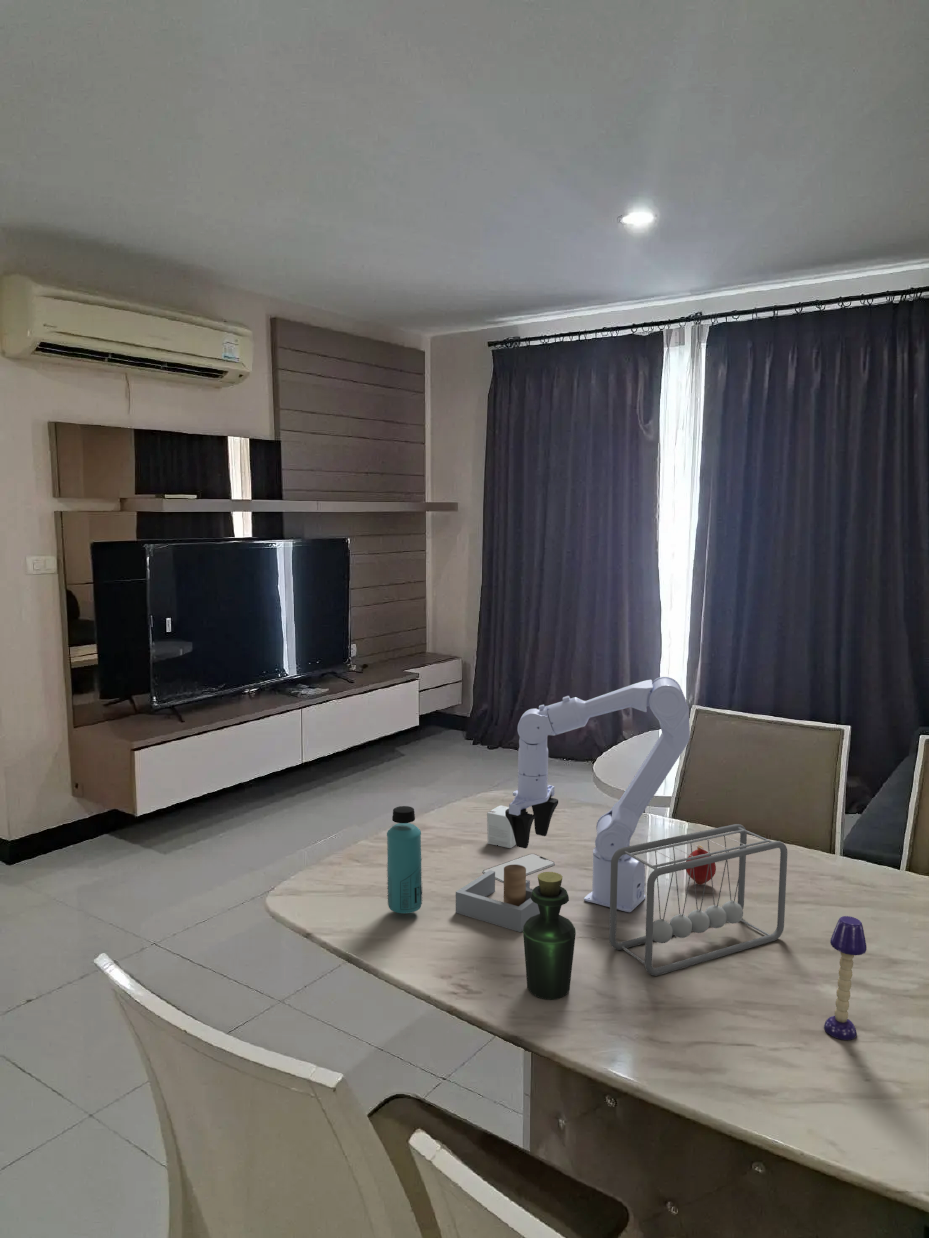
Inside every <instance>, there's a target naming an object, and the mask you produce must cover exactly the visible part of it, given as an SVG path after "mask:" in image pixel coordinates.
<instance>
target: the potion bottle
mask: <svg viewBox="0 0 929 1238" xmlns="http://www.w3.org/2000/svg"><path fill="white" fill-rule="evenodd" d="M537 880H538V881H537V882H538V885H537V886H535V887H533V888H532V889H533V891H532V894H531V900H532V901H533V902H534V903H536V904H538V908H539V912H540V914H538V915H535V916H533V917H530V918H529V919H528V920H527V921H526V923H525V925H524V926H523V931H522V936H523V938H522V939H523V947H524V948H523V949H524V959H525V960H524V961H525V974H526V986H527V989H528V991H529V993H531V995H533V996H535V997H537V998H540V999H543V1000H557V999H560V998H563V997H565V996H566V995H567V994H568V993H569V991H570V989H571V979H572V973H573V972H572V970H573V961H574V952H575V942H576V927H575V926H574V924H573V922H572V921H571V920H570V919H569V918H567V917H565V916H563V915H561V914H560V913H561V909H562V906H564V905H566V904H567V903H569V901H570V900H569V899H570V896H569V894H568V891H567V889H566V888H564V887H562V882H563V876H562V874H561V873H559V872H555V871H542V872H540V873H539V874H537Z"/></svg>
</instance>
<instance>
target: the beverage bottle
mask: <svg viewBox="0 0 929 1238" xmlns="http://www.w3.org/2000/svg"><path fill="white" fill-rule="evenodd" d="M415 815H416V814H415V809H414V807H412V806H409V805H401V806H400V805H399V806H396V807H394V808H393V810H392V815H391V816H392V817H391V819H392V821H393V822H394V823H395V824H393V825H392V826H391V827H390V828H389V829H388V830H387V832H386V840H387V841H386V843H387V848H386V850H387V851H386V852H387V862H386V868H387V870H386V877H387V887H386V889H387V894H386V895H387V896H386V897H387V898H386V899H387V906H388V908H389V910H390V911H392V912H394V913H397V914H412V913H416V912H417V911H419V910H420V909H421V908H422V905H423V900H424V899H423V881H422V879H423V878H422V859H423V858H422V831H421V830H420V828H419V827H418V826H417V825H415V824H413V822H415V820H416V816H415Z"/></svg>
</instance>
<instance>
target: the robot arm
mask: <svg viewBox="0 0 929 1238" xmlns="http://www.w3.org/2000/svg"><path fill="white" fill-rule="evenodd" d="M648 707H649V709H650V711H651V713H653V716H654V717H655V718H656V719H657V720H658V722H659V727H660V729H661V734H660V736H659V737H658V739H657V740H656V742H655V743H654V745H653V746H652V748H651V750H650V751H649V752H648V754H647V756H646V758H645V759H644V761H643V763H642V764H641V765H640V767H639V769H638V770H637V772H636V773H635V775H634V777H633V778H632V780H631V781H630V783H629V785H628V786H627V788H626V789H625V791H624V793H623V794H622V795H621V797H620V799H619V800H618V801H616V802H615V803H614V804H613V806H612V807H611V808H610V810H608V811H607V812H606V813H604V814H602V815H601V816H600V817H599V818H598V820H597V821H596V827H595V828H596V837H595V841H594V843H595V844H594V845H595V847H594V848H593V849H592V886H591V887H592V889H591V890H592V891H591V892H589V893H587V895H585V897H583V900H584V901H585V902H589V903H592V904H597V905H598V906H599V905H600V906H604V907H606V908H610V882H611V859H612V857H613V855H614V853H615V852H616V851H617V850H618V849H620V848H623V847H628V846H631V838H632V837H633V835H634V834H635V831H636V828H637V826H638V823H639V821H640V819H641V817H642V815H643V813H644V812H645V811H646V809H647V808H648V806H649V804H650V802H652V800H653V798H654V797H655V795H656V793H657V792H658V791H659V788H660V787H661V786H662V784H663V782H664V781H665V780H666V778H667V776H668V775H669V774H670V772H671V770H672V768H673V767H674V766H675V764H676V762H677V761H678V760H679V758H680V756H681V755H682V753H683V751H684V750H685V748H686V747H687V745H688V744H689V742H690V740H691V731H690V728H691V727H690V707H689V705H688V702H687V700H686V697H685V695H684V691H683V690H682V688H681V685H680V684H679V682H678V681H676V679H675V678H672V677H669V676H659V677H657V678H655V679H654V680H652V679H646V680H643V681H642V680H641V681H639V682H636V683H633V684H629V685H627V686H623V687H621V688H618V689H616V690H612V691H610V692H607V693H604V694H602V695H598V696H596V697H593V698H590V699H588V700H583V699H581V698H578V697H576V696H575V697H572V698H571V697H570V695H566V696H563V697H562V700H561V701H558V702H555V703H552V704H549V705H545V704H540V705H539V706H538V708H530V709H529V708H528V710H526V711H524V713H523V714H522V715H521V717H520V719H519V721H518V724H517V734H518V736H519V740H518V745H519V748H518V749H517V750H518V753H517V754H518V755H517V756H518V757H517V789H516V790H514V791H513V792H512V796H513V797H514V798H513V800H512V802H510V803H508V807H509V809H507V810H506V811H505V816H506V817H507V819H508V820H509V822H510V825H511V827H512V830H513V833H514V838H515V842H516V845H515V846H516V847H517V848H521V849H527V848H528V847H529V843H530V835H531V828H532V825H533V824H534V825H533V826H534V833H535V835H537V836H542V837H547V835H548V831H549V827H550V823H551V819H552V817H553V814H554V812H555V811H556V809H557V806H558V805H559V799H558V798H553V797H554V796H555V785H551V784H548V782H549V779H548V778H549V748H548V736H554V737H555V736H557V735H561V734H563V733H567V732H570V731H573V730H577V729H580V728H584V727H586V726H587V723H588V722H589V719H591V718H594V717H598V716H601V715H605V714H608V713H609V714H610V713H613V712H616V711H620V710H624V709H628V708H632V709H635V710H638V711H641V712H644V713H647V712H648V710H647V708H648ZM530 807H531V809H532V813H529V812H528V811H527V809H528V808H530ZM630 854H631V853H630ZM645 866H646V865H645V864H643V863H641V862H640V861H638V860H636V859H634V858H632V857H631V856H629V855H627V854H624V855H622V856H621V857H620V858H619V860H618V875H617V910H619V911H622V912H626V913H631V912H632V911H633V910H634V909H636V908H637V906H639V905H640V904H641V903H642V902H643V901H644V900H646V899H647V895H646V894H645V885H646V884H645V881H646V879H645V878H646V877H645V875H646V868H645Z"/></svg>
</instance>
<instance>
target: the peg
mask: <svg viewBox="0 0 929 1238" xmlns="http://www.w3.org/2000/svg"><path fill="white" fill-rule="evenodd" d="M526 880H527V876H526V868H525V867H524V866H521V865H507V866H505V867H504V882H503V902H505V903H508V904H512V905H515V906H520V905H521V904H523V903H524V902H525V901H526Z"/></svg>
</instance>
